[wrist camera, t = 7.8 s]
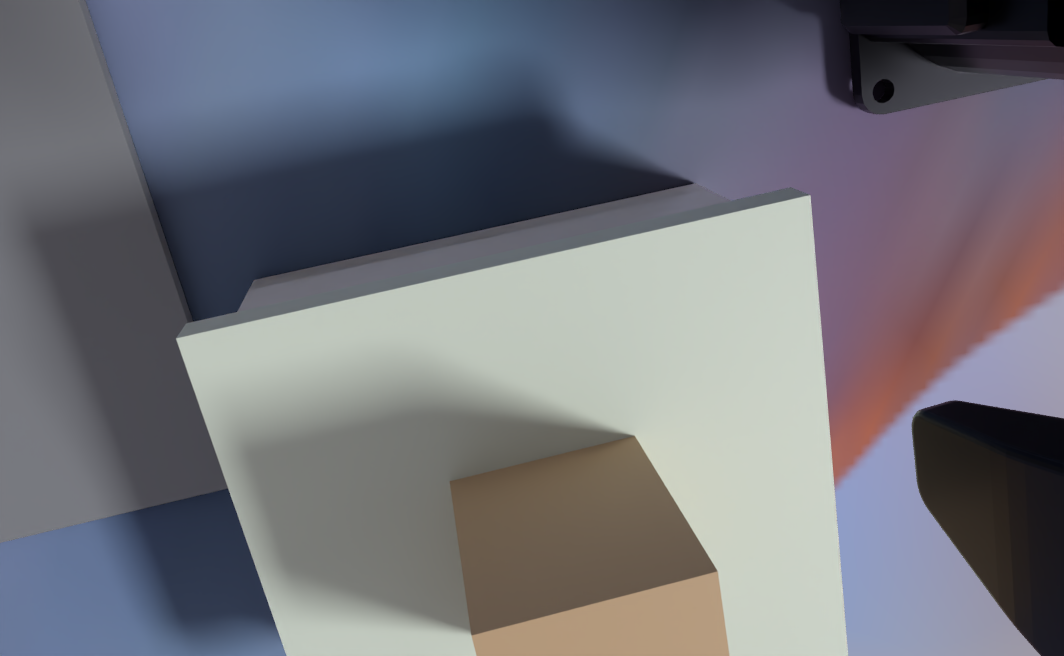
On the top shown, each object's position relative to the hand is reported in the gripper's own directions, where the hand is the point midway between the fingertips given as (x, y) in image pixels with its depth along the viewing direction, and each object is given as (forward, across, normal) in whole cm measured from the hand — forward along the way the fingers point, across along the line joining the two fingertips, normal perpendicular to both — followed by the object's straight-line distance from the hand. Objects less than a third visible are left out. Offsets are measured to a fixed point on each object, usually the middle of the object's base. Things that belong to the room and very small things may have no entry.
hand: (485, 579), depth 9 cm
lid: (+8, -1, +4) cm, 9 cm away
